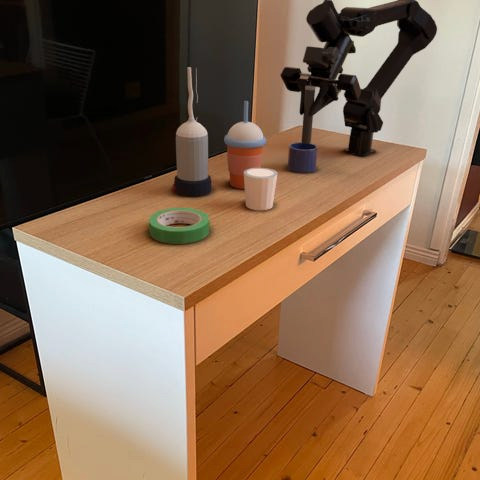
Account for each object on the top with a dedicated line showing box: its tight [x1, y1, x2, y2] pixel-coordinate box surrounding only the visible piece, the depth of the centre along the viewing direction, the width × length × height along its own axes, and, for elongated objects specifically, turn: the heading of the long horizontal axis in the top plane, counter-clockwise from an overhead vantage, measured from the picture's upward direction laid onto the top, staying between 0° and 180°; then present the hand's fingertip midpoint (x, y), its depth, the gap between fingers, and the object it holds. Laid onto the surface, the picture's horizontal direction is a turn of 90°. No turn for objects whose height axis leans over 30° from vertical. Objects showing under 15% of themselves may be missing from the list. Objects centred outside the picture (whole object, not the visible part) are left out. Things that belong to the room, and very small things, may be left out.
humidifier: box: [172, 66, 212, 198], centre depth 120 cm, size 8×8×25 cm
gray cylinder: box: [300, 86, 317, 144], centre depth 133 cm, size 2×2×12 cm
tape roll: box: [148, 207, 210, 245], centre depth 107 cm, size 11×11×3 cm
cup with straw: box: [223, 100, 267, 190], centre depth 126 cm, size 9×9×18 cm
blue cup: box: [287, 141, 319, 174], centre depth 140 cm, size 7×7×6 cm
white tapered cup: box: [244, 167, 278, 211], centre depth 118 cm, size 7×7×7 cm
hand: (305, 114), depth 132 cm, fingers closed on gray cylinder, 2 cm apart
